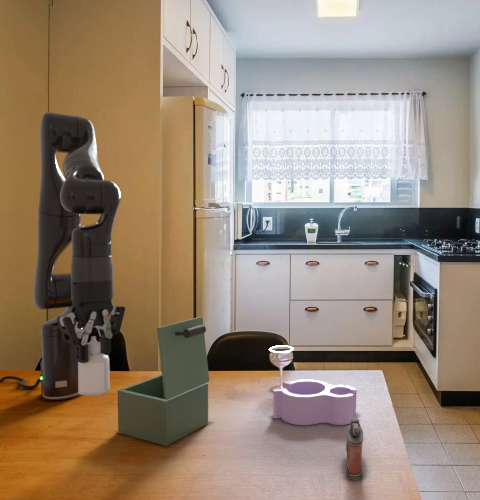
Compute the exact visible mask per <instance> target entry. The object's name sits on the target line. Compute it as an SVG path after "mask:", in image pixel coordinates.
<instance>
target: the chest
mask: <svg viewBox="0 0 480 500" xmlns="http://www.w3.org/2000/svg"><path fill="white" fill-rule="evenodd" d="M208 424H209V382H207V383H205V384H202V385H200V386H198V387H196V388H193V389H191V390H189V391H186V392H184V393H182V394H179V395H177V396H175V397H172V398H170V399H168V400H165V396H164V387H163V378H162V373H161V374H159V375H156V376H153V377H150V378H147V379H145V380H142V381H139V382H137V383H136V382H135V383H134V384H131V385H129V386H126V387H123V388H121V389H120V388H119V389H117V430H118V431H117V432H118V434H119V433H120V434H123V435H126V436H129V437H133V438H137V439H140V440H143V441H148V442H151V443H154V444H158V445H161V446H165V447H167V446H169V445H171V444H173V443H175V442H177V441H179V440H180V439H182V438H184V437H186V436H188V435H189V434H191V433H193V432H196V431H197V430H199V429H200V428H202V427H205V426H206V425H208Z"/></svg>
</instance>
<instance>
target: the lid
mask: <svg viewBox="0 0 480 500" xmlns="http://www.w3.org/2000/svg"><path fill="white" fill-rule="evenodd" d="M206 331H207V327H206V326H205V324H204V319H203V316H197V317H195V318H190V319H186V320H182V321H179V322H174V323H170V324H167V325H166V324H165V325H162V326H158V327H156V332H157V340H158V341H157V343H158V350H159V360H160V370H161V374H162V378H163V387H164V396H165V400H168V399H170V398H172V397H175V396H177V395H179V394H182V393H184V392H186V391H189V390H191V389H193V388H196V387H198V386H200V385H202V384H205V383H209V382H210V373H209V365H208V363H209V362H208V356H207V347H206V346H207V345H206V339H205V338H206V336H205V334H206Z"/></svg>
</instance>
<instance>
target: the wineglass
mask: <svg viewBox="0 0 480 500" xmlns="http://www.w3.org/2000/svg"><path fill="white" fill-rule="evenodd" d="M293 350H294V347H292V346H289V345H275V346H272V347H270V348H269V354H268V358H269V362H270V363H271V364H272V365H273V366H275V367H277V368H278V369H279V386H276V387H274V388H272V389H271V391H272V392H273V390H274V389H281V388H283V369H284V368H285V367H286V366H288V365H290V364H291V363H292V361H293V359H294V353H293Z"/></svg>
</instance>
